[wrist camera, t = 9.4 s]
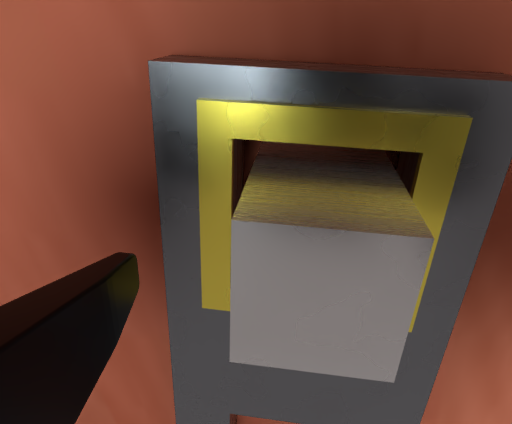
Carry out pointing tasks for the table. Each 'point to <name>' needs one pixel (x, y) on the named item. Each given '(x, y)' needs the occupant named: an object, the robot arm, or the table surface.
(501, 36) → the table surface
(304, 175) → the grey metal block
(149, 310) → the table surface
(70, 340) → the robot arm
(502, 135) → the grey board with holes
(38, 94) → the table surface
